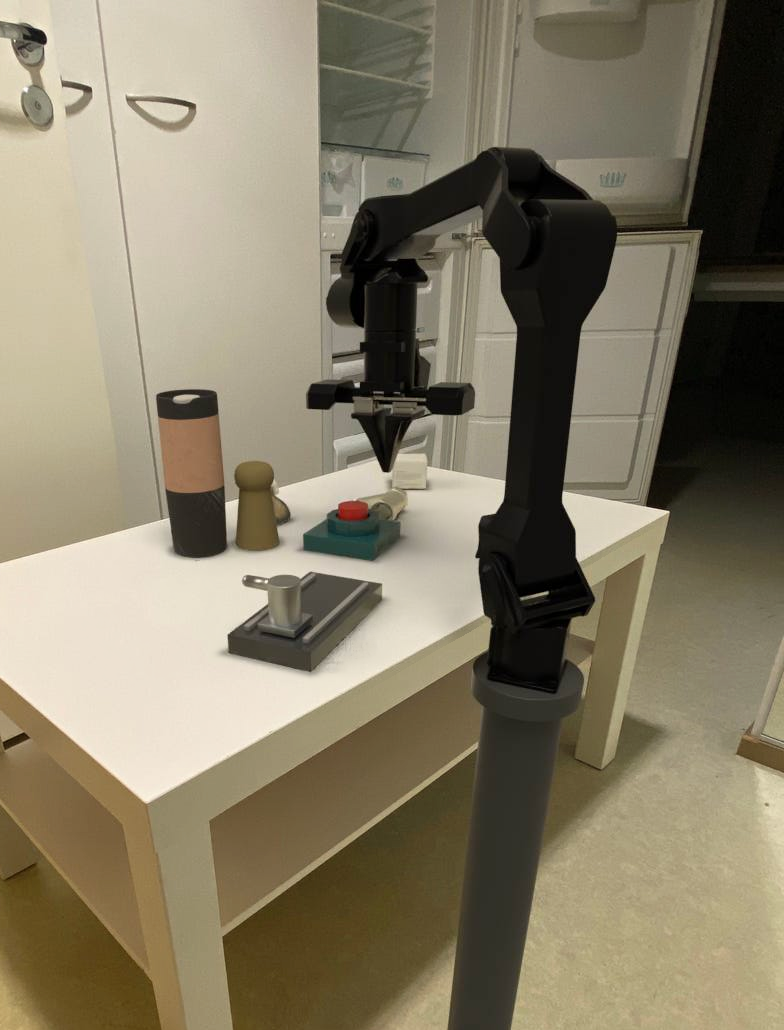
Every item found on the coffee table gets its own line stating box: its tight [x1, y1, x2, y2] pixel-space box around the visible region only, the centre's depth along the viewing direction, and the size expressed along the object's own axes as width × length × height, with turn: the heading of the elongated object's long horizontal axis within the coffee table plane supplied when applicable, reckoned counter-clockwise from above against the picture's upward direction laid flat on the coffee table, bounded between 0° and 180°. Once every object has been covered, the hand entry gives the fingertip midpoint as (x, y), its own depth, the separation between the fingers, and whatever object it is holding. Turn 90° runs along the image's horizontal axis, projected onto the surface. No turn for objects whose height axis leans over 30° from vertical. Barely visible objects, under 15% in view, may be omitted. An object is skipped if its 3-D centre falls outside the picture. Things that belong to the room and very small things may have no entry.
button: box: [337, 500, 368, 520], centre depth 96 cm, size 4×4×2 cm
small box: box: [391, 453, 428, 490], centre depth 123 cm, size 6×6×5 cm
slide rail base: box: [226, 571, 383, 672], centre depth 76 cm, size 9×18×2 cm, turn 153°
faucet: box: [241, 574, 313, 638], centre depth 70 cm, size 7×4×5 cm, turn 63°
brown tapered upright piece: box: [233, 460, 281, 551], centre depth 97 cm, size 6×6×11 cm
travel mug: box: [155, 388, 228, 558], centre depth 93 cm, size 8×8×20 cm
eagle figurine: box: [234, 479, 292, 526], centre depth 109 cm, size 8×7×9 cm
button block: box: [302, 508, 402, 561], centre depth 98 cm, size 10×10×4 cm
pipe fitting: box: [355, 486, 409, 521], centre depth 108 cm, size 8×4×7 cm
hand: (387, 471), depth 87 cm, fingers closed
